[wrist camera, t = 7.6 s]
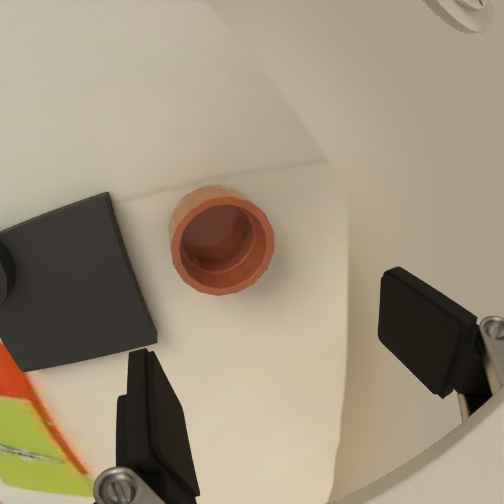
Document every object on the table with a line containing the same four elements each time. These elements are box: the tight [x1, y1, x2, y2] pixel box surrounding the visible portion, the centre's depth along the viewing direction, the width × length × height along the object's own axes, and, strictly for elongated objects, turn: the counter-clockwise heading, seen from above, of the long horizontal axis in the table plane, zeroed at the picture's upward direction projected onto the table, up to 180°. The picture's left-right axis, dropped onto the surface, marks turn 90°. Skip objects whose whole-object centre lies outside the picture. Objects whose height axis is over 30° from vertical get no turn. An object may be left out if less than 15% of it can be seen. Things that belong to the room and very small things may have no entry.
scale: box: [0, 192, 157, 372], centre depth 19 cm, size 13×14×3 cm
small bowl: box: [169, 186, 274, 296], centre depth 20 cm, size 6×6×4 cm
